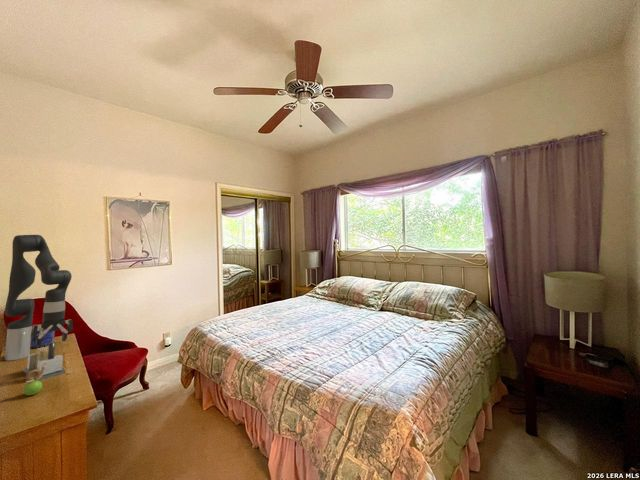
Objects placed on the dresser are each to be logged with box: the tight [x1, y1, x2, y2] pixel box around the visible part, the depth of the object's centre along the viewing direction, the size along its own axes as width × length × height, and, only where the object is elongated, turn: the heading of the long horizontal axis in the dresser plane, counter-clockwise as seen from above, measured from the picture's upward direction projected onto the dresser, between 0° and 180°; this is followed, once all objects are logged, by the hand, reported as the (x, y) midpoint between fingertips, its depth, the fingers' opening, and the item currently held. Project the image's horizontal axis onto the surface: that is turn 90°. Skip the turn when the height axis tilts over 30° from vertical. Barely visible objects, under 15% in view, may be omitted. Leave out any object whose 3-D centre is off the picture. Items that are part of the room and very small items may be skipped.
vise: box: [22, 352, 66, 381], centre depth 128 cm, size 18×10×8 cm, turn 62°
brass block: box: [35, 345, 49, 369], centre depth 129 cm, size 4×6×10 cm, turn 62°
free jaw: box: [37, 341, 64, 375], centre depth 125 cm, size 4×8×14 cm, turn 152°
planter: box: [30, 327, 56, 349], centre depth 163 cm, size 11×11×11 cm
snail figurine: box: [22, 363, 47, 396], centre depth 109 cm, size 5×6×12 cm
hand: (51, 343), depth 125 cm, fingers open, 8 cm apart
